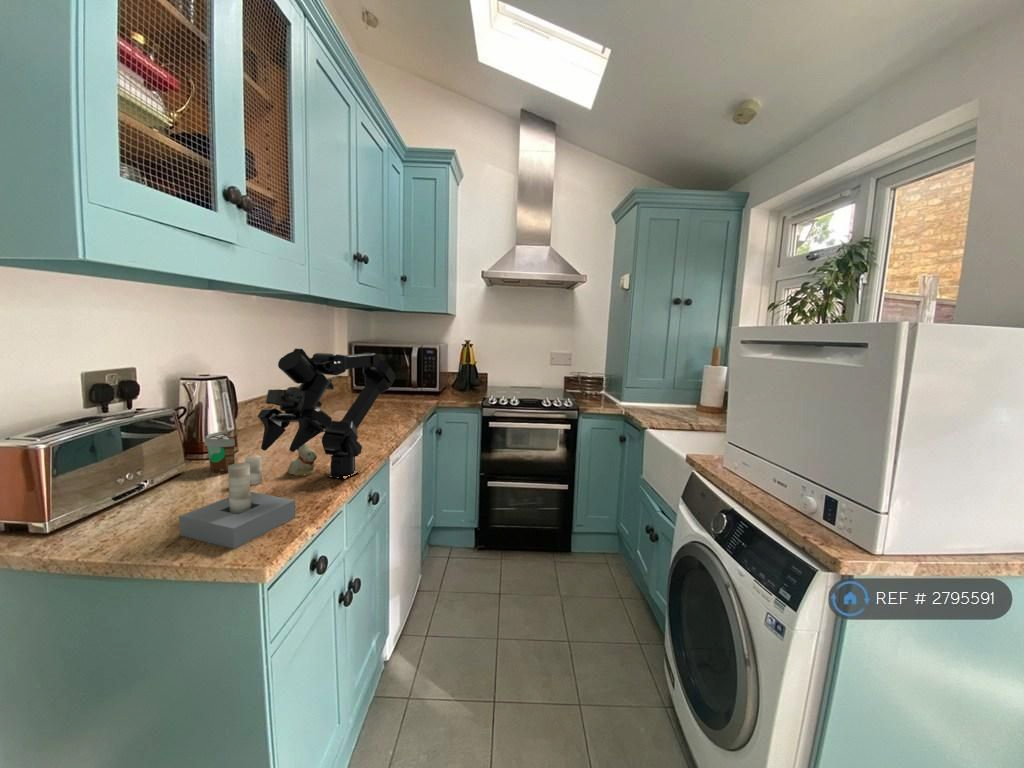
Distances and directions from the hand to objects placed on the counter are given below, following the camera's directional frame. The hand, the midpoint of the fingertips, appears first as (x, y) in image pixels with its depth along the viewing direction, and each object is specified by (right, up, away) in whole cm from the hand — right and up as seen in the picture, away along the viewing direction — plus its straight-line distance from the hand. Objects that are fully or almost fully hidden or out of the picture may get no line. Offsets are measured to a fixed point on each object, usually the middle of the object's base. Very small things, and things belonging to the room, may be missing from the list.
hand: (276, 450), depth 90 cm
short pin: (-15, -11, +15) cm, 24 cm away
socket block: (-2, -14, -9) cm, 17 cm away
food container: (-31, -10, +24) cm, 40 cm away
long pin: (-2, -14, -9) cm, 17 cm away
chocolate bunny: (-7, -11, +24) cm, 27 cm away
